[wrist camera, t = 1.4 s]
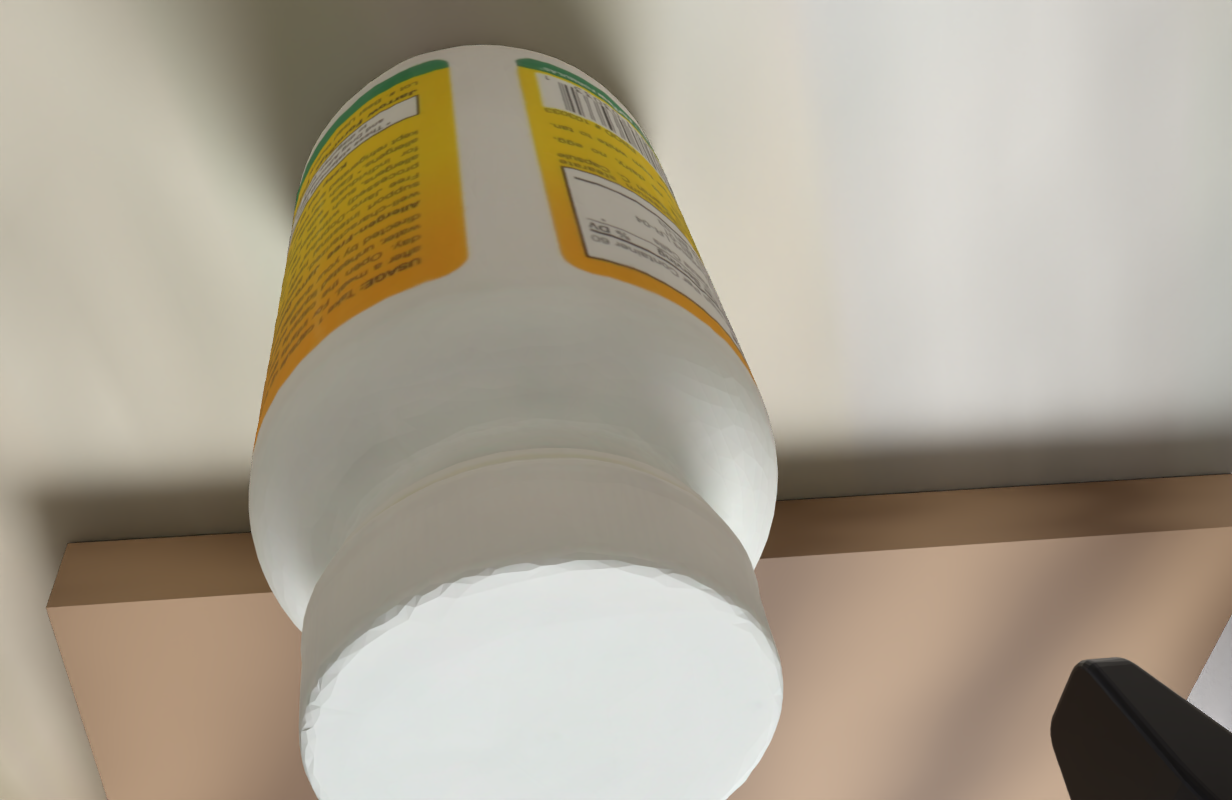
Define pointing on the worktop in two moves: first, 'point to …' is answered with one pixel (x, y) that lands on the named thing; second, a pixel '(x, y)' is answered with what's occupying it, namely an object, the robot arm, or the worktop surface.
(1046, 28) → the worktop surface
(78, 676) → the light tan board
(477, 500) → the supplement bottle
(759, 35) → the worktop surface
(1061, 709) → the robot arm
